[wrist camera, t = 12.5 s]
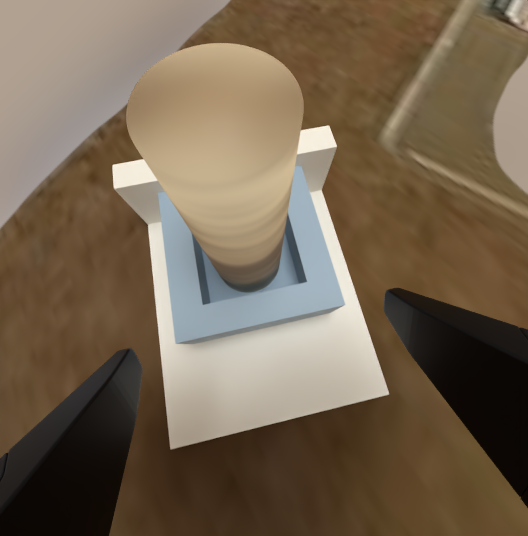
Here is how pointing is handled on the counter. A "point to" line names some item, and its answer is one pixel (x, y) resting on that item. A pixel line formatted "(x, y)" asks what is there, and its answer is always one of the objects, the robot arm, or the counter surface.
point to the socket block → (249, 303)
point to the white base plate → (258, 334)
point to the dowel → (223, 151)
